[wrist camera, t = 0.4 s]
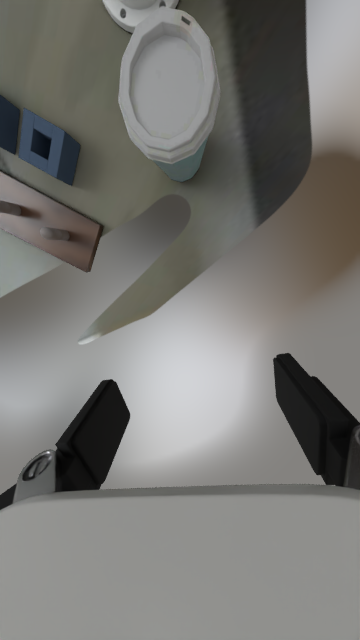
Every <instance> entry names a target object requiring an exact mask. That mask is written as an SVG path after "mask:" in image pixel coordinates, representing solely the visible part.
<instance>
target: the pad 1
mask: <svg viewBox="0 0 360 640" xmlns="http://www.w3.org/2000/svg"><path fill="white" fill-rule="evenodd" d="M19 112H20V110H19V109H18V108H16V107H15V106H14V105H13V104H11V103H10V102H9V101H7V100H6V99H5V98H4V97H2V96H1V95H0V147H1V148H3V149H5V150H7V151H9V152H11V153H13V154H15V152H16V142H17V132H18V122H19Z"/></svg>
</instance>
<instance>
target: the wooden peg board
mask: <svg viewBox="0 0 360 640" xmlns="http://www.w3.org/2000/svg"><path fill="white" fill-rule="evenodd" d="M103 227H104V226H102V225H101V224H99V223H97V222H95V221H93V220H91V219H90V218H88V217H86V216H84V215H82V214H80V213H78V212H77V211H75V210H73V209H71V208H69V207H67V206H65V205H64V204H62V203H60V202H58V201H56V200H54V199H52V198H51V197H49V196H47V195H45V194H43V193H41V192H39V191H38V190H36V189H34V188H32V187H30V186H28V185H26V184H25V183H23V182H21V181H19V180H17V179H15V178H13V177H12V176H10V175H8V174H6V173H4V172H2V171H0V229H2V230H4V231H6V232H8V233H10V234H12V235H14V236H16V237H18V238H20V239H22V240H24V241H26V242H28V243H30V244H32V245H34V246H36V247H38V248H39V249H41V250H43V251H45V252H47V253H49V254H51V255H53V256H55V257H57V258H59V259H61V260H63V261H65V262H67V263H69V264H71V265H73V266H75V267H77V268H79V269H81V270H83V271H85V272H90V270H91V267H92V264H93V260H94V257H95V254H96V250H97V247H98V244H99V240H100V237H101V233H102V230H103Z"/></svg>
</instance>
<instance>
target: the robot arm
mask: <svg viewBox="0 0 360 640" xmlns="http://www.w3.org/2000/svg"><path fill="white" fill-rule="evenodd" d="M102 1H103V3H104V6H105V8H106V9H107V11H108V13H109V14H110V16H111V17H112V18H113V20H114V21H115V22H116V23H117V24H118V25H119V26H120V27H122V28H123V29H125V30H126V31H128V32H131V33H133V32H134V30H135V28H136V25H138V24H139V23H140V22H142V21H143V20H144V19H145V18H147V17H148V16H149V15H151V14H152V13H153V12H155V11H156V10H157V9H158V8H160V7H161V6H163V7H167V8H172V9H175V8H176V6H177V4H178V2H179V0H102ZM273 361H274V375H275V388H276V398H277V402H278V404H279V406H280V407H281V410H282V411H283V413H284V415H285V417H286V419H287V421H288V423H289V425H290V427H291V429H292V430H293V432H294V434H295V436H296V438H297V440H298V442H299V444H300V445H301V447H302V449H303V451H304V453H305V455H306V457H307V459H308V461H309V463H310V464H311V466H312V468H313V470H314V472H315V473H316V474H317V475H321V476H322V478H323V480H324V482H325V483H326V485H313V484H312V485H310V484H267V485H266V484H259V485H223V486H191V487H160V488H133V489H132V488H131V489H106V490H99V489H100V486H101V484H102V483H103V482H104V481H105V479H106V477H107V474H108V472H109V469H110V467H111V464H112V462H113V459H114V457H115V454H116V452H117V449H118V447H119V444H120V442H121V439H122V437H123V434H124V432H125V429H126V427H127V424H128V422H129V419H130V412H129V410H128V408H127V406H126V403H125V401H124V399H123V397H122V394H121V392H120V390H119V388H118V385H117V383H116V382H114V381H113V380H112V379H110V380H103V381H102V382H101V383H100V384H99V386H98V387H97V388H96V390H95V391H94V392H93V394H92V395H91V397H90V398H89V399H88V401H87V402H86V403H85V405H84V406H83V408H82V409H81V410H80V412H79V413H78V414H77V416H76V417H75V418H74V420H73V421H72V423H71V424H70V425H69V427H68V428H67V429H66V431H65V432H64V433H63V435H62V436H61V438H60V439H59V440H58V442H57V443H56V444H55V445H56V446H57V450H56V451H53V450H46V451H44V452H42V453H40V454H38V455H37V456H35V457H34V458H33V459H32V460H31V461H29V462H28V463H27V465H26V466H25V467H24V468H23V470H22V471H21V473H20V475H19V477H18V480H17V483H16V484H15V485H14V486H12V487H11V488H10V489H8V490H7V491H5V492H4V493H2V494H1V495H0V640H360V423H359V422H358V421H357V419H355V417H354V416H353V415H352V414H351V413H350V412H349V411H348V410H347V409H346V408H345V407H344V406H343V405H342V404H341V402H340V401H339V400H338V399H337V398H336V397H335V396H334V395H333V394H332V393H331V392H330V391H329V390H328V389H327V388H326V386H325V385H324V384H322V382H321V381H320V380H319V379H318V378H317V377H314V376H312V377H310V376H309V375H308V374H307V372H306V371H305V370H304V369H303V368H302V367H301V366H300V365H299V363H298V362H297V361H296V360H295V359H294V358H293V357H292V356H291V354H289V353H285V354H279V355H277V358H274V359H273ZM331 485H336V486H331Z"/></svg>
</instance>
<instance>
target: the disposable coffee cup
mask: <svg viewBox="0 0 360 640" xmlns="http://www.w3.org/2000/svg"><path fill="white" fill-rule="evenodd" d="M220 94H221V93H220V84H219V79H218V73H217V67H216V61H215V55H214V49H213V48H212V46H211V45H210V39H209V37H208V36H207V35H206V33H205V32H204V31H203V30H202V28H201V27H200V26H199V24H198V23H197V22H196V20H195V19H194V18H193V17H192V16H190V15H189V14H187V13H186V12H185V11H182V10H177V9H172V8H167V7H163V6H161V7H160V8H158V9H157V10H156V11H155V12H153V13H152V14H151V15H149V16H148V17H147V18H145V19H144V20H143V21H142V22H140V23H139V24H138V25H136V28H135V30H134V32H133V35H132V37H131V39H130V42H129V44H128V46H127V49H126V51H125V53H124V56H123V58H122V64H121V73H120V88H119V105H120V108H121V111H122V115H123V118H124V121H125V124H126V127H127V131H128V134H129V137H130V139H131V140H132V141H133V143H134V144H135V145H136V146H137V147H138V148H139V149H140V150H141V151H142V152H143V153H144V154H145V155H146V157H147V158H148V159H152V160H153V161H154V162H155V163H156V164H157V165H158V166H159V167H160V168H161V169H162V170H163V171H164V172H165V173H166V174H167V175H168V176H169V177H170V178H171V179H172V180H175V181H179V182H183V181H186V180H188V179H190V178H192V177H193V175H194V174H195V173H196V171H197V170H198V169H199V166H200V163H201V159H202V156H203V153H204V149H205V146H206V142H207V139H208V136H209V134H210V132H211V131H212V129H213V126H214V121H215V117H216V112H217V108H218V103H219V99H220Z"/></svg>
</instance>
